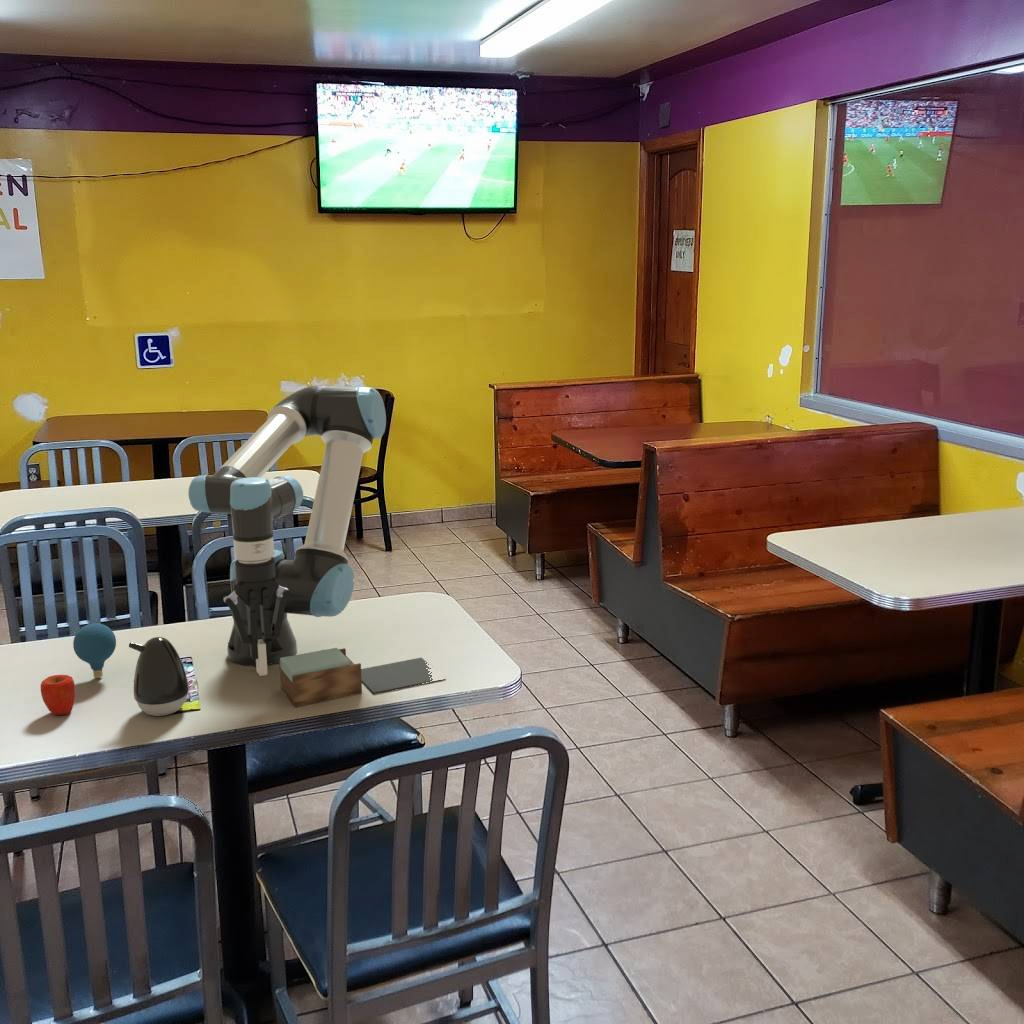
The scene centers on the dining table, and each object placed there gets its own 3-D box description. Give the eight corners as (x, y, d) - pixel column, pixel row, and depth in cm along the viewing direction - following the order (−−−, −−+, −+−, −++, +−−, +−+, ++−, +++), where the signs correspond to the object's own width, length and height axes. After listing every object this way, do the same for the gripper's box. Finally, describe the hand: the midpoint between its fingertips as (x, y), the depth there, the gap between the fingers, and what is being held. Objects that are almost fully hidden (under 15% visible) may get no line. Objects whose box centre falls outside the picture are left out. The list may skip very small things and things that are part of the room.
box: (294, 707, 202) (293, 677, 201) (280, 689, 211) (279, 660, 209) (362, 693, 208) (360, 664, 207) (345, 676, 217) (344, 648, 216)
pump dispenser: (142, 700, 205) (135, 629, 202) (195, 698, 206) (189, 627, 203) (128, 722, 195) (120, 648, 192) (183, 720, 196) (177, 646, 193)
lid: (292, 682, 202) (291, 671, 201) (280, 667, 209) (280, 657, 208) (350, 670, 207) (349, 660, 207) (337, 657, 214) (336, 647, 214)
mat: (373, 694, 208) (373, 692, 208) (352, 672, 219) (352, 670, 219) (445, 679, 215) (445, 677, 215) (421, 659, 226) (421, 657, 226)
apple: (36, 715, 199) (32, 679, 197) (64, 703, 204) (60, 668, 202) (56, 722, 196) (52, 685, 194) (84, 710, 201) (80, 675, 199)
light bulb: (79, 688, 211) (73, 633, 208) (75, 674, 218) (69, 621, 216) (122, 681, 215) (116, 627, 212) (116, 667, 222) (111, 615, 219)
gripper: (224, 568, 191) (233, 685, 197) (293, 558, 197) (299, 673, 202) (216, 558, 197) (224, 672, 203) (282, 549, 203) (289, 660, 209)
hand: (262, 672), depth 203 cm, fingers closed
